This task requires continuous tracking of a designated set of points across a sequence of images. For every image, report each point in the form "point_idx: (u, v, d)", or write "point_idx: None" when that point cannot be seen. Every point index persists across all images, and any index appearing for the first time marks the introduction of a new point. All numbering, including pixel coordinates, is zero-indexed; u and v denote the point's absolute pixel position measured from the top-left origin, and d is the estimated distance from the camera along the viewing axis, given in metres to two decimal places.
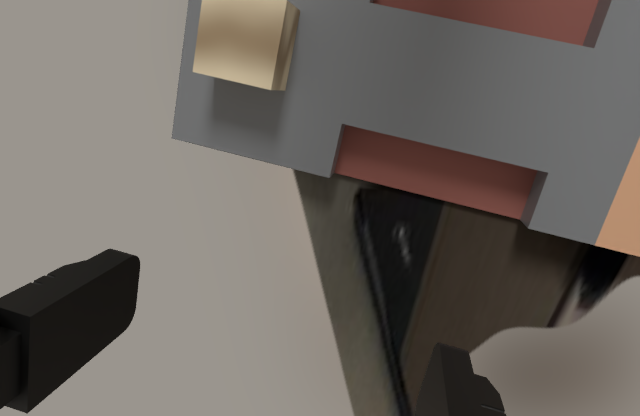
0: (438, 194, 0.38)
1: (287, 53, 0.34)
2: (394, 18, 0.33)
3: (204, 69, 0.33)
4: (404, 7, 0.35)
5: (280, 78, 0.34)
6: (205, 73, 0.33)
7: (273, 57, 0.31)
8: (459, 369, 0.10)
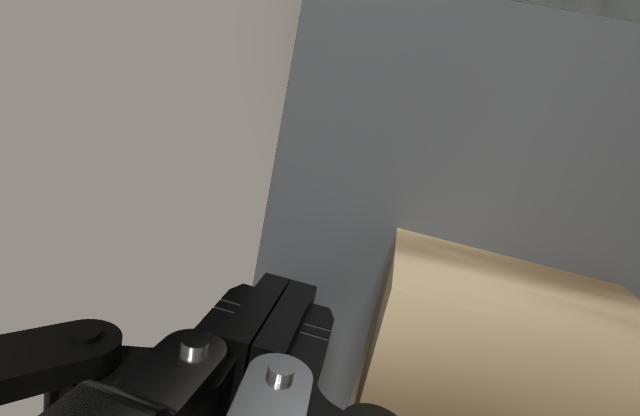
0: None
1: None
2: None
3: None
4: None
5: None
6: None
7: None
8: (297, 297, 0.11)
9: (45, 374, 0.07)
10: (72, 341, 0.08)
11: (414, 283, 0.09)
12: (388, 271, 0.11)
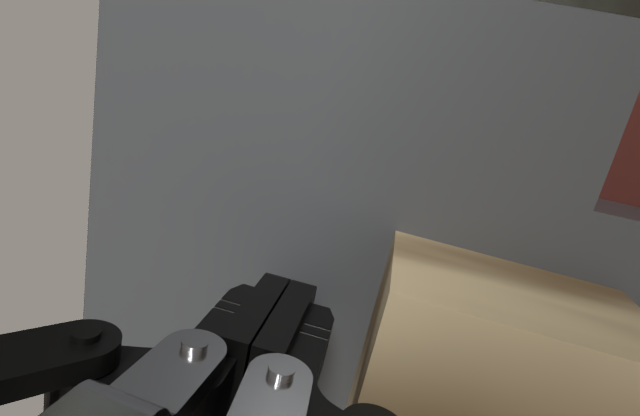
0: None
1: None
2: None
3: None
4: None
5: None
6: None
7: None
8: (297, 297, 0.11)
9: (45, 374, 0.07)
10: (72, 341, 0.08)
11: (412, 287, 0.09)
12: (386, 274, 0.11)
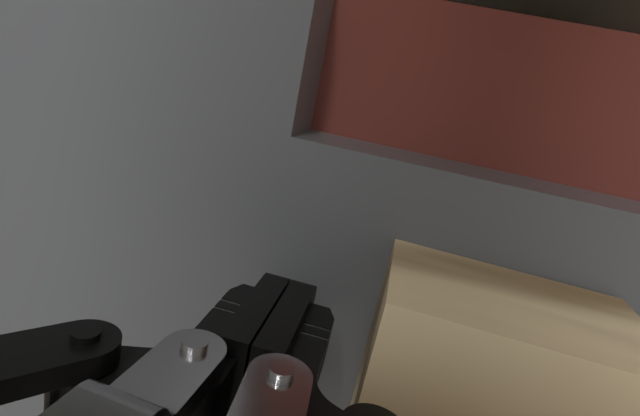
0: None
1: None
2: (359, 178, 0.12)
3: None
4: (386, 127, 0.14)
5: None
6: None
7: None
8: (297, 296, 0.11)
9: (45, 374, 0.07)
10: (72, 341, 0.08)
11: (409, 298, 0.09)
12: (385, 283, 0.11)
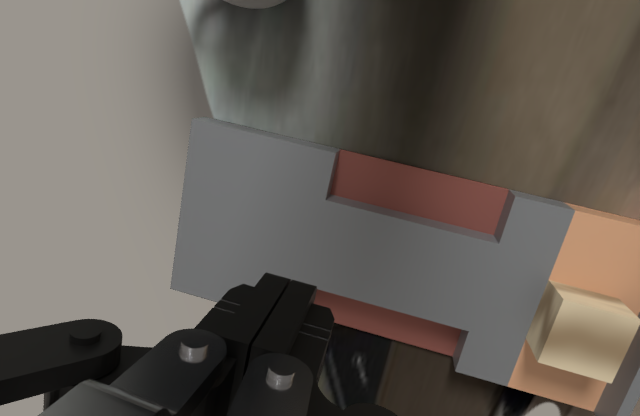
0: (387, 334, 0.47)
1: None
2: (345, 212, 0.42)
3: (549, 361, 0.38)
4: (355, 194, 0.44)
5: None
6: (549, 364, 0.38)
7: (619, 360, 0.37)
8: (297, 297, 0.11)
9: (45, 374, 0.07)
10: (72, 341, 0.08)
11: (567, 298, 0.37)
12: (551, 294, 0.39)
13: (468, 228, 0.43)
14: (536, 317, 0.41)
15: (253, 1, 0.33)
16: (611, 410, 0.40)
